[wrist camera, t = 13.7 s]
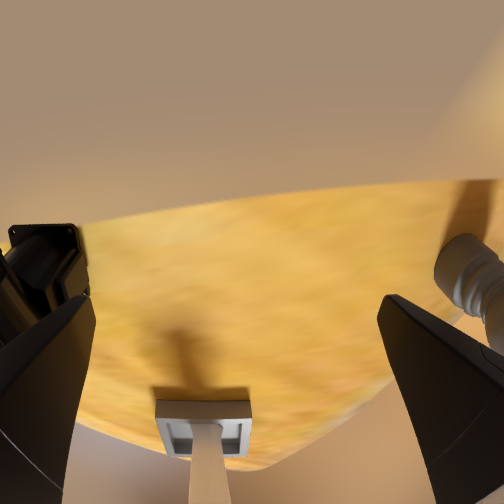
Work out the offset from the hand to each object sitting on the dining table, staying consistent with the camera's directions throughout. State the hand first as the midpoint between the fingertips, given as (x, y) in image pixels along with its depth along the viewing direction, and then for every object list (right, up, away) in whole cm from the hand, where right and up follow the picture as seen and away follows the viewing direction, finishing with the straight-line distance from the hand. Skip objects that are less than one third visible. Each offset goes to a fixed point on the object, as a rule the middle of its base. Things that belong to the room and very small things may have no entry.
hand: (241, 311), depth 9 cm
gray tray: (-5, -19, +24) cm, 31 cm away
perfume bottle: (-5, -18, +24) cm, 30 cm away
